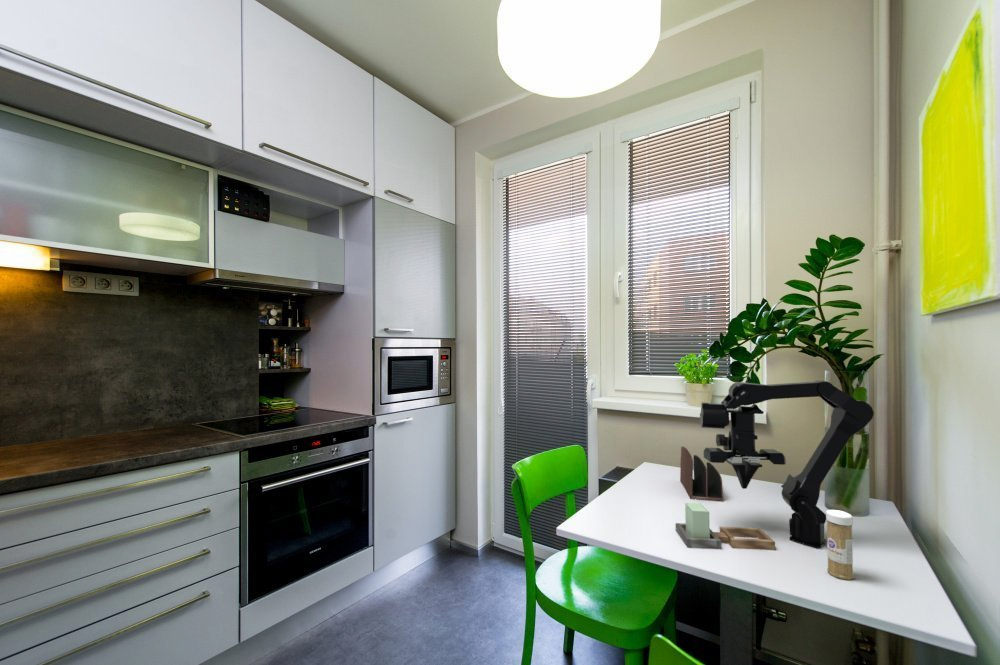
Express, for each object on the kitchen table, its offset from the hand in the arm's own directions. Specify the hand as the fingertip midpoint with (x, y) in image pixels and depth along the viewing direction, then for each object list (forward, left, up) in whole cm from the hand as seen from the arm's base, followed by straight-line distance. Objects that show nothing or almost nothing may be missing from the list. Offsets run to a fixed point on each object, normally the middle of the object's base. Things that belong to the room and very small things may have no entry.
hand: (743, 488), depth 116 cm
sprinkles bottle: (-22, +6, -12) cm, 26 cm away
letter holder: (+25, -25, -12) cm, 37 cm away
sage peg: (+6, +13, -12) cm, 19 cm away
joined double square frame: (+2, +9, -12) cm, 15 cm away
